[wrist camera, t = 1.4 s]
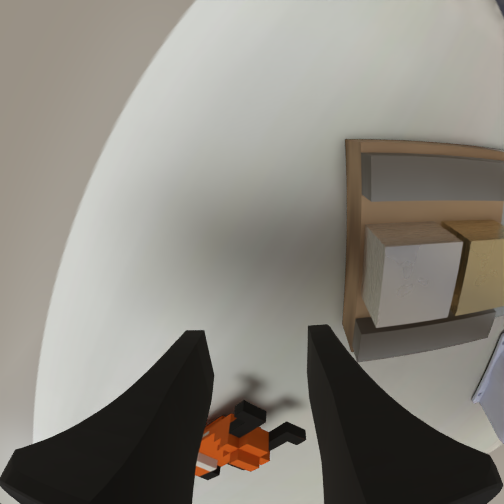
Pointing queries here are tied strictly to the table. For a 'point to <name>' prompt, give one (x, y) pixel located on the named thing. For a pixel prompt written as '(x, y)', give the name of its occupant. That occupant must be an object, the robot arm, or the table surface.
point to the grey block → (409, 272)
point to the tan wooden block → (478, 265)
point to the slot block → (414, 210)
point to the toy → (242, 441)
